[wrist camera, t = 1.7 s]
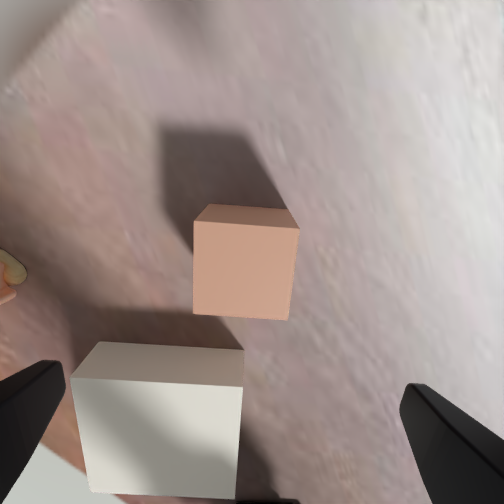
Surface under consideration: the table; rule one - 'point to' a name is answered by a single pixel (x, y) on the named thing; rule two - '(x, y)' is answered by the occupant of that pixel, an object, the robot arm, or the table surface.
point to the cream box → (160, 419)
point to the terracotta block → (244, 261)
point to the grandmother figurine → (9, 276)
